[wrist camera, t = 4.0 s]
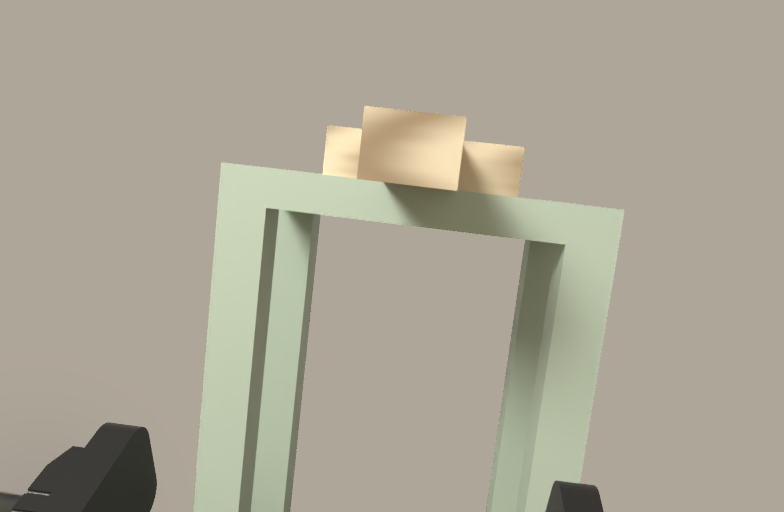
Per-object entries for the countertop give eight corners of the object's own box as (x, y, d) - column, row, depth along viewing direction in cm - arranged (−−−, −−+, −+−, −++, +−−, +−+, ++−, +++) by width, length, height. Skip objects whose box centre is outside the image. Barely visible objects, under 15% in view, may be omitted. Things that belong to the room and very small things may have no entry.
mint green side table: (175, 727, 34) (221, 162, 31) (252, 572, 48) (291, 170, 44) (529, 793, 33) (624, 210, 29) (503, 614, 47) (566, 202, 43)
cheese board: (265, 168, 21) (272, 95, 21) (352, 177, 41) (356, 140, 41) (552, 202, 21) (564, 127, 20) (499, 194, 40) (505, 157, 40)
